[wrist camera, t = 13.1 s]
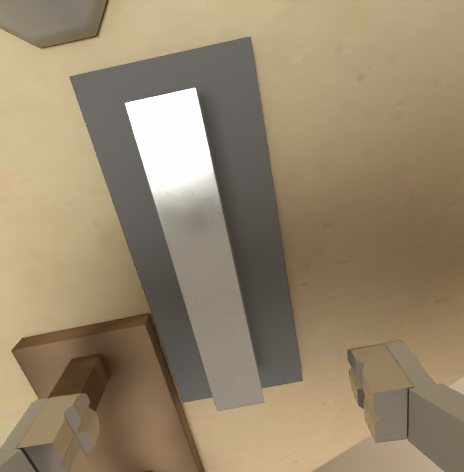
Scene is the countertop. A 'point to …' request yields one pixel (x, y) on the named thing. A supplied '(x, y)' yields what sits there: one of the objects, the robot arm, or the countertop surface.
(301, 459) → the countertop surface
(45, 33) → the flask
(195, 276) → the steel rail
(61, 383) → the rail stand
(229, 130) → the rubber mat
